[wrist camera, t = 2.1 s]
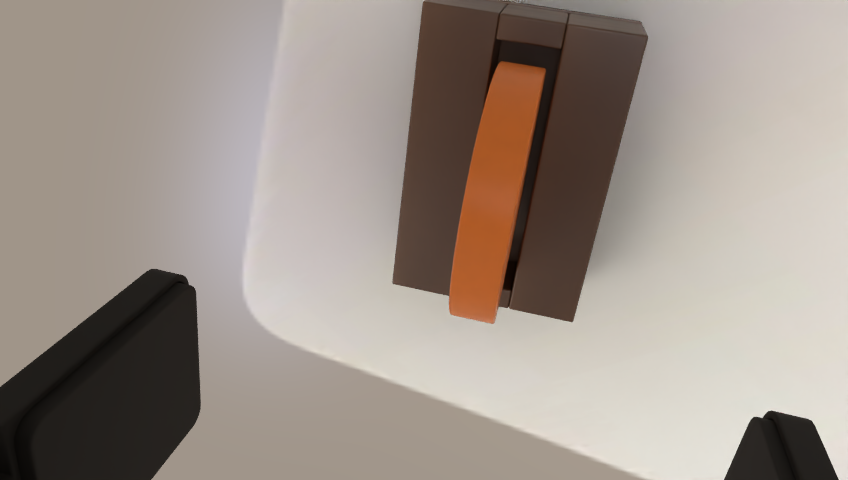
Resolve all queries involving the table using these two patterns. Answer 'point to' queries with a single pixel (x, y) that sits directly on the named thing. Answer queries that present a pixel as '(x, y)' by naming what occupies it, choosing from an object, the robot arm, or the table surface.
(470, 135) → the holder
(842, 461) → the table surface
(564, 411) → the table surface
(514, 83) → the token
